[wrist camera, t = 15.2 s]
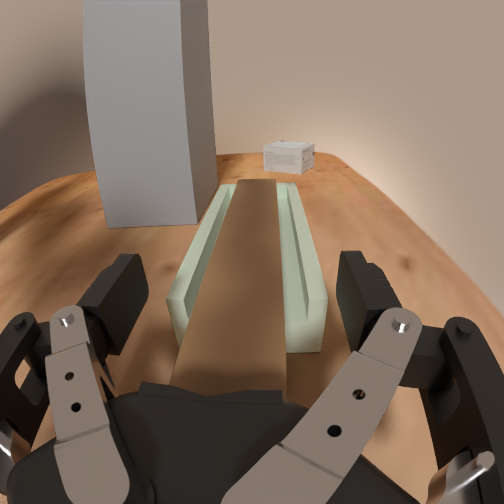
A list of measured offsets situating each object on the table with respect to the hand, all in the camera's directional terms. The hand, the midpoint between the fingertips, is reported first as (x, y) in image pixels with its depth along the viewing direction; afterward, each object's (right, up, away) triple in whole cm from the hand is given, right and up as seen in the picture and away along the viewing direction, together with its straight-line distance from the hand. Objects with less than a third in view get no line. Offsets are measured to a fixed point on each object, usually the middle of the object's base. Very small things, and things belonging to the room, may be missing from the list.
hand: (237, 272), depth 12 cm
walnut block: (+1, -1, +7) cm, 7 cm away
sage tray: (+1, 0, +14) cm, 14 cm away
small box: (+8, +17, +45) cm, 49 cm away
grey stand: (-11, +8, +30) cm, 33 cm away
